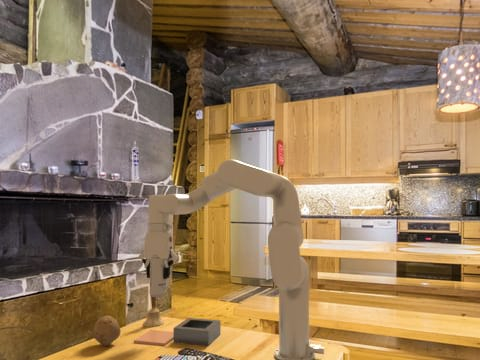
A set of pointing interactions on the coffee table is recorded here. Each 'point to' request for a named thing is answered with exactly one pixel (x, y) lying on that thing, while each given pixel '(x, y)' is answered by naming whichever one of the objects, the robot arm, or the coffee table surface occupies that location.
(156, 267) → the energy drink can
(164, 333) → the terracotta tile
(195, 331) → the frame
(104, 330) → the natural sponge
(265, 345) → the coffee table surface
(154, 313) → the hand bell
